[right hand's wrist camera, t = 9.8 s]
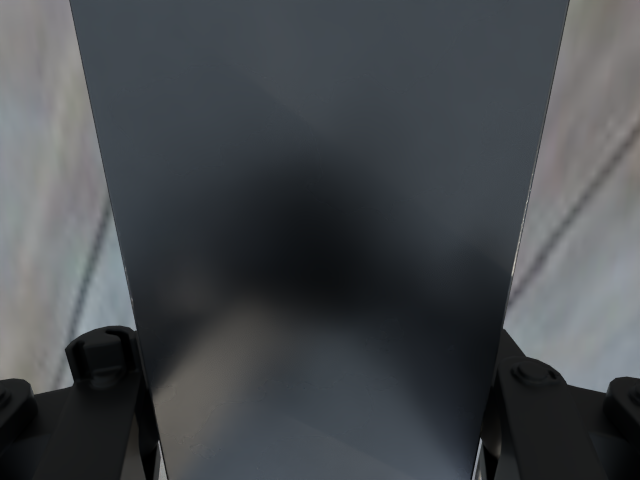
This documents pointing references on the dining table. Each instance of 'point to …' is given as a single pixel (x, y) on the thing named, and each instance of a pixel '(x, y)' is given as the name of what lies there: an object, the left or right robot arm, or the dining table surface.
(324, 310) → the bar
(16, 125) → the dining table surface
